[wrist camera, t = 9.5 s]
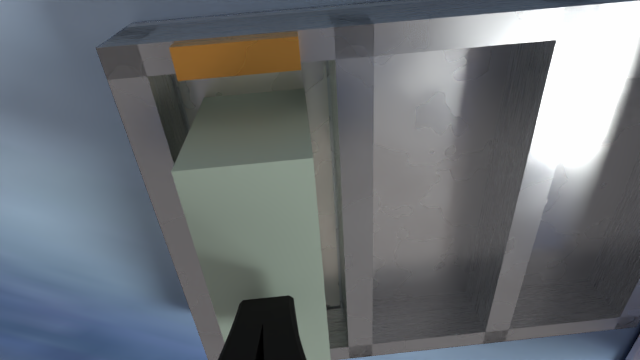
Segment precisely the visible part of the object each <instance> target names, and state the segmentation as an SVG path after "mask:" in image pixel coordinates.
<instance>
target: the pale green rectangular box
mask: <svg viewBox="0 0 640 360" xmlns="http://www.w3.org/2000/svg"><path fill="white" fill-rule="evenodd" d="M171 173H172V176H173V179H174V183H175V186H176V189H177V192H178V195H179V199H180V202H181V205H182V208H183V211H184V215H185V218H186V221H187V224H188V227H189V231H190V234H191V237H192V240H193V243H194V247H195V250H196V253H197V256H198V259H199V263H200V266H201V269H202V272H203V276H204V279H205V282H206V285H207V288H208V292H209V295H210V298H211V301H212V304H213V308H214V311H215V314H216V317H217V320H218V324H219V327H220V330H221V333H222V336H223V340H224V343H225V342H226V339H227V337H228V334H229V332H230V329H231V327H232V324H233V321H234V319H235V316H236V313H237V310H238V307H239V304H240V303H241V302H242V301H243V300H249V299H258V298H268V297H278V296H287V295H289V296H291V297H293V298H294V305H295V311H296V318H297V325H298V331H299V336H300V340H301V344H302V347H303V350H304V354H305V357H306V359H307V360H331V357H330V345H329V334H328V322H327V311H326V299H325V288H324V276H323V265H322V253H321V242H320V230H319V219H318V207H317V196H316V184H315V173H314V161H313V152H312V144H311V136H310V128H309V120H308V112H307V104H306V96H305V88H303V89H292V90H281V91H270V92H259V93H248V94H237V95H226V96H215V97H204V98H203V101H202V103H201V105H200V107H199V110H198V112H197V114H196V116H195V119H194V121H193V123H192V125H191V128H190V130H189V132H188V135H187V137H186V139H185V141H184V144H183V146H182V148H181V150H180V153H179V155H178V157H177V159H176V162H175V164H174V166H173V168H172V171H171Z"/></svg>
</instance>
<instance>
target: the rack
mask: <svg viewBox="0 0 640 360" xmlns="http://www.w3.org/2000/svg"><path fill="white" fill-rule="evenodd" d="M96 50H97V52H98V55H99V58H100V61H101V64H102V66H103V69H104V72H105V75H106V77H107V80H108V83H109V86H110V88H111V91H112V94H113V97H114V100H115V102H116V105H117V108H118V111H119V113H120V116H121V119H122V122H123V125H124V127H125V130H126V133H127V136H128V138H129V141H130V144H131V147H132V150H133V152H134V155H135V158H136V161H137V163H138V166H139V169H140V172H141V175H142V177H143V180H144V183H145V186H146V188H147V191H148V194H149V197H150V200H151V202H152V205H153V208H154V211H155V213H156V216H157V219H158V222H159V225H160V227H161V230H162V233H163V236H164V238H165V241H166V244H167V247H168V250H169V252H170V255H171V258H172V261H173V263H174V266H175V269H176V272H177V275H178V277H179V280H180V283H181V286H182V288H183V291H184V294H185V297H186V300H187V302H188V305H189V308H190V311H191V313H192V316H193V319H194V322H195V325H196V327H197V330H198V333H199V336H200V338H201V341H202V344H203V347H204V350H205V352H206V355H207V358H208V360H218V358H219V355H220V353H221V351H222V349H223V346H224V344H225V343H224V340H223V336H222V333H221V330H220V327H219V324H218V320H217V317H216V314H215V311H214V308H213V304H212V301H211V298H210V295H209V292H208V288H207V285H206V282H205V279H204V276H203V272H202V269H201V266H200V263H199V259H198V256H197V253H196V250H195V247H194V243H193V240H192V237H191V234H190V231H189V227H188V224H187V221H186V218H185V215H184V211H183V208H182V205H181V202H180V199H179V195H178V192H177V189H176V186H175V183H174V179H173V176H172V173H171V171H172V168H173V166H174V164H175V162H176V159H177V157H178V155H179V153H180V150H181V148H182V146H183V144H184V141H185V139H186V137H187V135H188V132H189V130H190V128H191V125H192V123H193V121H194V119H195V116H196V114H197V112H198V110H199V107H200V105H201V103H202V101H203V98H204V97H215V96H226V95H237V94H248V93H259V92H270V91H281V90H292V89H303V88H305V96H306V104H307V112H308V120H309V128H310V136H311V144H312V152H313V161H314V173H315V184H316V196H317V207H318V219H319V230H320V242H321V253H322V265H323V276H324V288H325V299H326V311H327V322H328V334H329V345H330V357H331V360H339V359H348V358H357V357H366V356H376V355H385V354H394V353H403V352H412V351H421V350H430V349H439V348H448V347H458V346H467V345H476V344H485V343H494V342H503V341H512V340H521V339H531V338H540V337H549V336H558V335H567V334H576V333H585V332H594V331H603V330H613V329H622V328H631V327H636V326H637V325H638V323H639V321H640V0H395V1H383V2H372V3H360V4H348V5H337V6H325V7H313V8H302V9H290V10H278V11H266V12H255V13H243V14H231V15H220V16H208V17H196V18H185V19H173V20H161V21H149V22H138V23H131V24H130V25H128V26H127V27H125V28H124V29H122V30H121V31H120V32H118V33H117V34H115V35H114V36H112V37H111V38H110V39H108V40H107V41H105V42H104V43H102V44H101V45H99V46H98V47H97V48H96Z"/></svg>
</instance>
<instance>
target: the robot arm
mask: <svg viewBox="0 0 640 360" xmlns="http://www.w3.org/2000/svg"><path fill="white" fill-rule="evenodd" d="M218 360H307V359H306V357H305V354H304V350H303V347H302V344H301V340H300V336H299V331H298V325H297V318H296V311H295V305H294V298H293V297H291V296H289V295H287V296H278V297H268V298H258V299H249V300H243V301H242V302H241V303H240V304H239V307H238V310H237V313H236V316H235V319H234V321H233V324H232V327H231V329H230V332H229V334H228V337H227V339H226V342H225V344H224V346H223V349H222V351H221V353H220V355H219V358H218ZM625 360H640V335H639V336H638V338H637V340H636V342H635V343H634V345H633V347H632V349H631V350H630V352H629V354H628V356H627V358H626V359H625Z"/></svg>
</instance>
